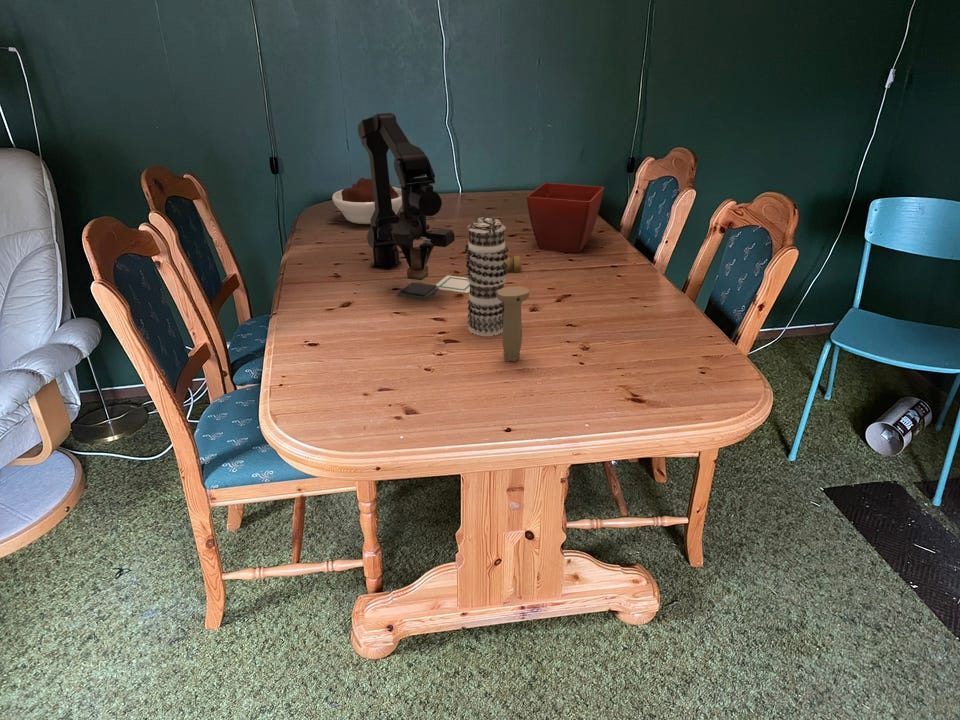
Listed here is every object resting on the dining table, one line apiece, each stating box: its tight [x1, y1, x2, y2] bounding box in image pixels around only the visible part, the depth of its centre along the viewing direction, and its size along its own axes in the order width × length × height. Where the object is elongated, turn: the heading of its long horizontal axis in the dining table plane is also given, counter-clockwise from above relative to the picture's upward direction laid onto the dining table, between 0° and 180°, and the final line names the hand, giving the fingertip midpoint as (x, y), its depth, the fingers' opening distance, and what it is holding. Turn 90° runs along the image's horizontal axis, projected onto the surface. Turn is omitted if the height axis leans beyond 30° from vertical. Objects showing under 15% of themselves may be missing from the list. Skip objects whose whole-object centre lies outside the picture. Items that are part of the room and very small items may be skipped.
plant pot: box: [526, 182, 605, 254], centre depth 195 cm, size 19×19×17 cm
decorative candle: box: [464, 216, 509, 337], centre depth 140 cm, size 9×9×25 cm
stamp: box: [406, 246, 429, 281], centre depth 161 cm, size 4×4×7 cm
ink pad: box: [396, 281, 439, 302], centre depth 165 cm, size 8×8×1 cm
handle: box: [497, 285, 530, 363], centre depth 129 cm, size 5×6×15 cm
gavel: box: [503, 255, 522, 273], centre depth 186 cm, size 21×5×10 cm
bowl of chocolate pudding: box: [331, 177, 402, 225], centre depth 221 cm, size 25×25×15 cm
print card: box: [435, 274, 470, 295], centre depth 170 cm, size 10×10×1 cm
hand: (417, 267), depth 162 cm, fingers closed on stamp, 3 cm apart
